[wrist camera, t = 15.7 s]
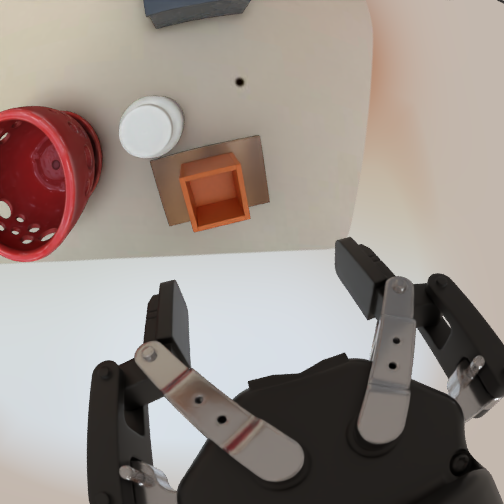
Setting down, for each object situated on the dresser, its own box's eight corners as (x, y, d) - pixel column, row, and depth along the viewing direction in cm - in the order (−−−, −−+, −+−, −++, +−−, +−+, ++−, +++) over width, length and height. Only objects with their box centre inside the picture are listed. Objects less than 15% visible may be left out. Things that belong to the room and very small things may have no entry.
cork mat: (258, 135, 28) (260, 135, 28) (268, 200, 33) (269, 202, 32) (150, 160, 27) (149, 161, 27) (169, 224, 32) (169, 226, 31)
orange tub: (232, 151, 28) (240, 163, 24) (241, 198, 31) (250, 219, 27) (180, 164, 28) (178, 178, 23) (193, 210, 31) (193, 232, 26)
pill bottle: (143, 152, 27) (122, 177, 18) (128, 107, 24) (100, 112, 15) (190, 135, 27) (190, 153, 19) (177, 89, 24) (170, 84, 16)
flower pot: (108, 215, 29) (76, 275, 19) (21, 203, 25) (-30, 253, 15) (124, 103, 23) (82, 109, 13) (26, 100, 19) (-40, 114, 9)
